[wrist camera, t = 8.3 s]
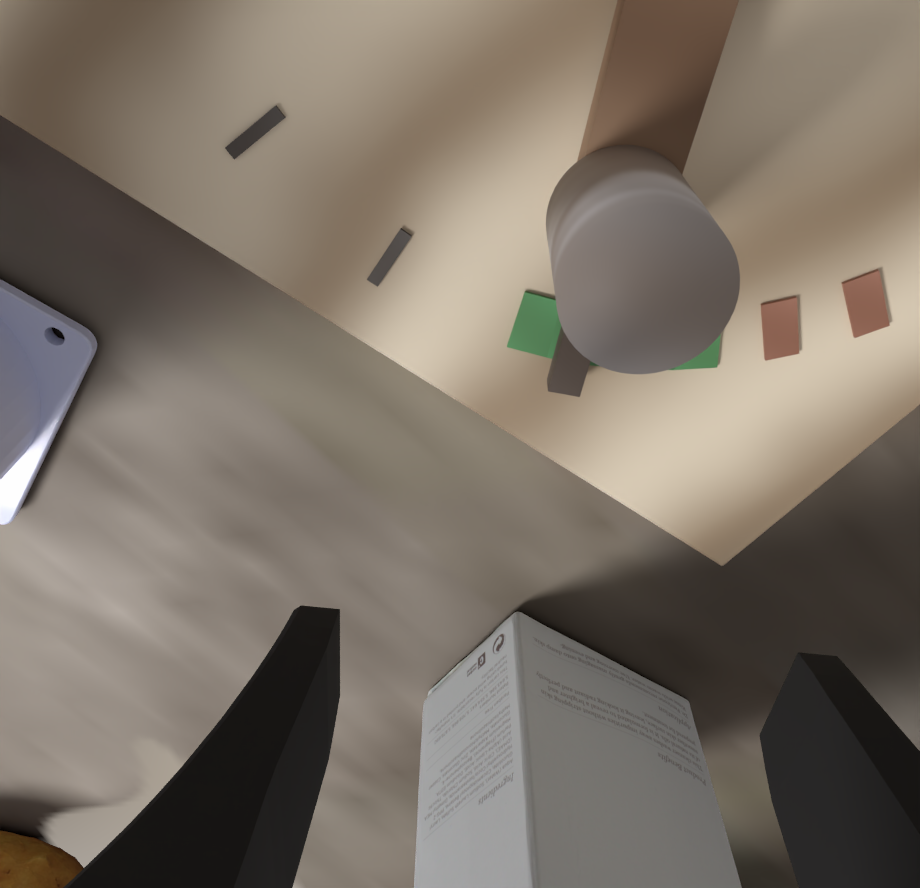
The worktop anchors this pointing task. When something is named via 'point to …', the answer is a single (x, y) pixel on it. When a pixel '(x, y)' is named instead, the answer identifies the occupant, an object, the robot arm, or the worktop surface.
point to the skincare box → (562, 774)
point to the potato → (34, 863)
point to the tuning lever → (641, 204)
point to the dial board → (528, 210)
